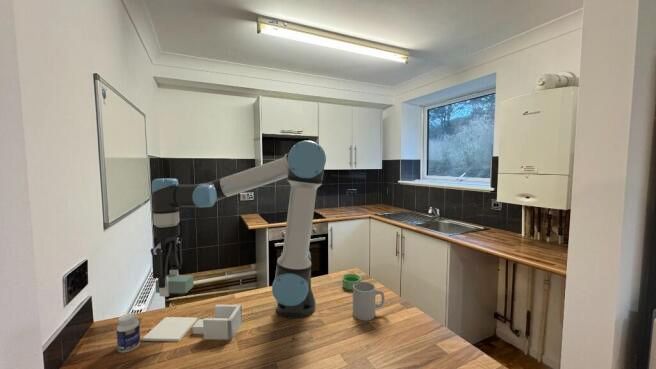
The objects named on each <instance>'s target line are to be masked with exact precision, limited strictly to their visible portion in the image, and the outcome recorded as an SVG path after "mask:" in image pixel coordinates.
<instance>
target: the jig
mask: <svg viewBox="0 0 656 369" xmlns="http://www.w3.org/2000/svg"><path fill="white" fill-rule="evenodd" d="M242 312H243V311H242V304H215V305H214V317H205V318H203V319H202V318H201V319H200V318H198V320H197V321H196V323H195V324H194V325H193V326H192V335H203V340H226V341H228V340H230V341H231V340H233V339H234V336H235V335H236V334H237V332H238V329H239V328H240V327H241V325H242V323H243V313H242Z"/></svg>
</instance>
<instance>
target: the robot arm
mask: <svg viewBox="0 0 656 369" xmlns="http://www.w3.org/2000/svg"><path fill="white" fill-rule="evenodd" d="M326 162H327V155H326V153H325V150H324V149H323V147H322V146H321V145H320V144H319V143H318V142H315V141H312V140H302V141H298V142H296V143H295V144H294V145H293V146H292V147H291V149H290V150H289V152H288V153H285V154H284V156H283V157H282V158H278V159H276V160H273V161H270V162H269V161H268V162H266V163H264V164H260V165H258V166H255V167H251V168H248V169H245V170H243V171H240V172H237V173H232V174H231V175H227V176H224V177H221V178H218V179H215V180H212V181H209V182H204V183H197V184H180V183H179V179H177V178H170V177H169V178H167V177H166V178H155V179H153V180H151V181H152V182H151V201H152V216H153V219H152V221H153V226H154V227H153V237H154V239H156V240H157V241H156V242H157V243H156V246H155V247H154V248H151V249H150V253H151V260H152V264H151V265H152V279H157V280H158V281H159V293H158V294H159V297H169V296H170V293H169V283H168V276H166V275H168V274H167V273H168V271H169V275H180V274H179V270H181V269H182V266H183V250H182V249H183V248H182V247H183V246H182V244H183V237H178V236H180V234H181V227H180V226H181V225H180V224H179V223H180V220H181V219H180V208H200V209H201V208H202V209H204V208H211V207H213V206H214V205H215V204H216V202H218V201H220V200H223V199H225V198H228V197H231V196H235V195H238V194H241V193H244V192H247V191H249V190H250V191H251V190H253V189H257V188H259V187H262V186H266V185H268V184H272V183H275V182H278V181H281V180H283V179H286V181H287V182H288V183H289V184H290V192H289V198H288V201H289V202H288V208H287V209H288V210H287V217H286V224H285V232H284V240H283V249H282V252H281V253H280V256H279V257H278V258H277V261H276V269H275V275H274V276H275V277H274V279H273V282H272V283H271V293H272V296H273V298H274V299H275V300H276V301H277V302H276V303H277V304H276V310H277V313H278V314H279V315H280V316H282V317H284V318H288V319H299V318H304V317H307V316H310V315H311V314H313V313H314V311H315V310H316V299H315V296H314V293H313V292H314V291H313V290H312V284H311V283H312V261H311V260H312V256H311V252H310V243H311V235H312V227H313V220H314V213H315V206H316V197H317V190H318V188H319V187H321V186H322V185H323V179H324V171H325V166H326ZM168 265H170V270H168Z"/></svg>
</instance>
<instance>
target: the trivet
mask: <svg viewBox="0 0 656 369" xmlns="http://www.w3.org/2000/svg"><path fill="white" fill-rule="evenodd" d="M198 320H199V318H198V317H180V316H179V317H178V316H174V317H173V316H172V317H171V316H165V317H164V318H163V319H162V320H161V321H160V322H158V324H157V325H155V327H153V328H152V329H151V330H150V331H149V332H148V333H147V334H145V335H144V336H143V337H142V341H144V342H149V341H150V342H181V340H182V339H183V338H184V336H185V335H186V334H187V333H188V332H189V330H190V329H191V328H193V326H194V325H195V324H196V322H197V321H198Z"/></svg>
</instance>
